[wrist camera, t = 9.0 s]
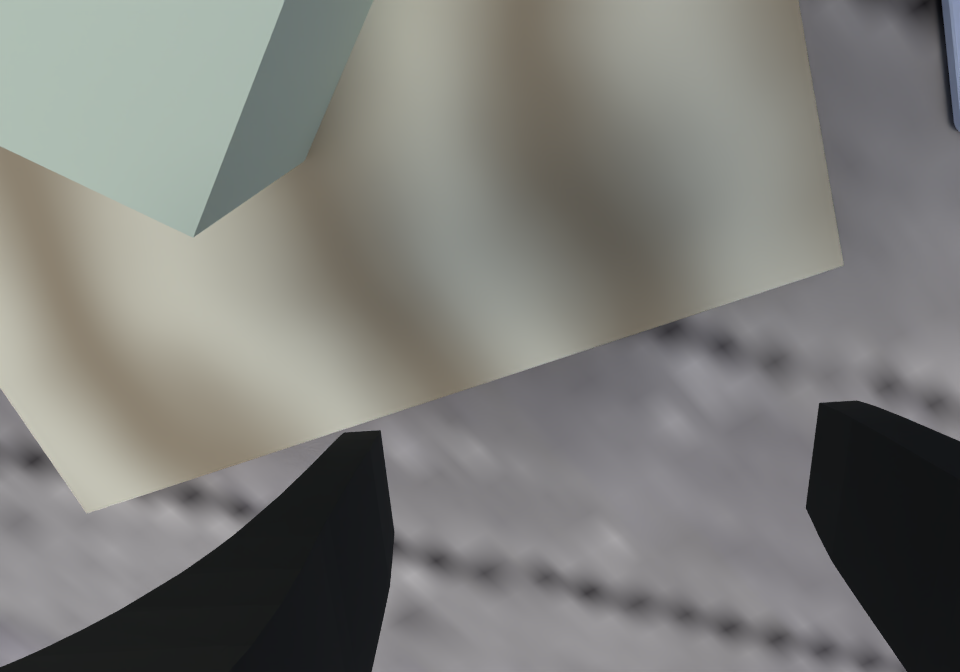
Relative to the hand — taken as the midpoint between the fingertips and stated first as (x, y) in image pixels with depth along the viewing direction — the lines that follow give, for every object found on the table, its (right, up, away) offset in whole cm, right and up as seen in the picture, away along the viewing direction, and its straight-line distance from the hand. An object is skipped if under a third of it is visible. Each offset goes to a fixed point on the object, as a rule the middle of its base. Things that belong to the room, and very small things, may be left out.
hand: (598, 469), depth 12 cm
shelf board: (-6, +9, +8) cm, 13 cm away
